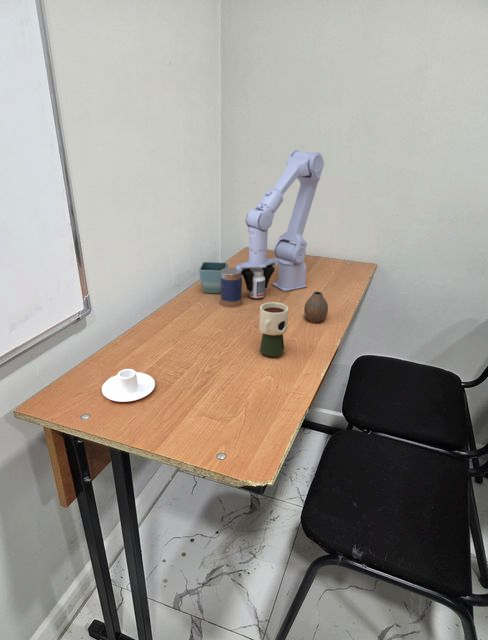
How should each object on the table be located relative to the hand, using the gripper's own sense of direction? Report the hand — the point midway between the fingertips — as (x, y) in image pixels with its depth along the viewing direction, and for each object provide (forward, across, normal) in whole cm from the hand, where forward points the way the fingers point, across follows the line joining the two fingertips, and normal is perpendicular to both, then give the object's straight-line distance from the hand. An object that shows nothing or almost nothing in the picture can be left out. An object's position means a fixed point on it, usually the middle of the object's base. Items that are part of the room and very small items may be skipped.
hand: (256, 288), depth 148 cm
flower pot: (+3, -10, +12) cm, 16 cm away
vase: (+3, +7, -23) cm, 24 cm away
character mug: (+3, -15, -34) cm, 37 cm away
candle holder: (+3, -53, -33) cm, 63 cm away
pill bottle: (+3, 0, 0) cm, 3 cm away
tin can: (+3, -10, 0) cm, 10 cm away
